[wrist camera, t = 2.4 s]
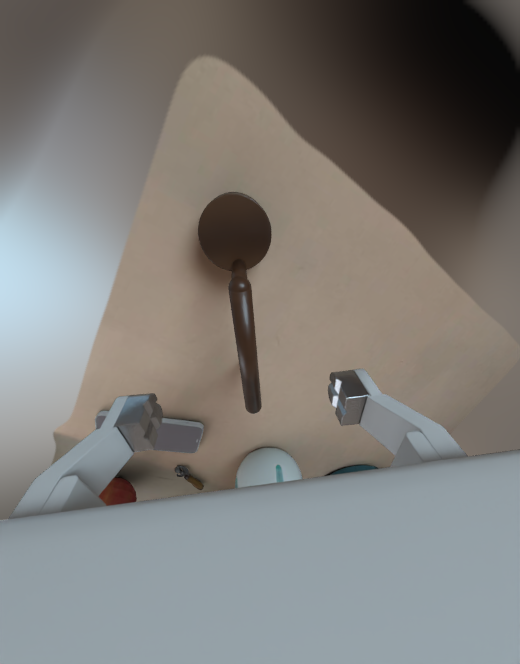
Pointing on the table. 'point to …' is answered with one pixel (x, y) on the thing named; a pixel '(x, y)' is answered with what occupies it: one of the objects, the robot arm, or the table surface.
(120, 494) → the fruit
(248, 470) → the vase
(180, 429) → the smartphone
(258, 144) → the table surface
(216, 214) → the ladle
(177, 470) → the can opener
